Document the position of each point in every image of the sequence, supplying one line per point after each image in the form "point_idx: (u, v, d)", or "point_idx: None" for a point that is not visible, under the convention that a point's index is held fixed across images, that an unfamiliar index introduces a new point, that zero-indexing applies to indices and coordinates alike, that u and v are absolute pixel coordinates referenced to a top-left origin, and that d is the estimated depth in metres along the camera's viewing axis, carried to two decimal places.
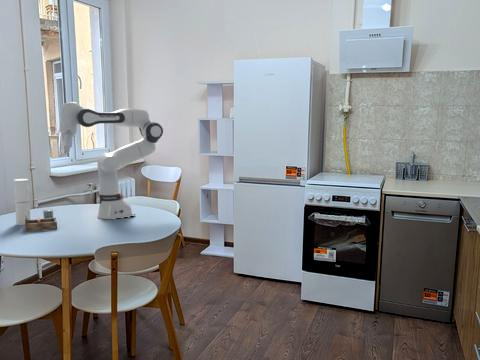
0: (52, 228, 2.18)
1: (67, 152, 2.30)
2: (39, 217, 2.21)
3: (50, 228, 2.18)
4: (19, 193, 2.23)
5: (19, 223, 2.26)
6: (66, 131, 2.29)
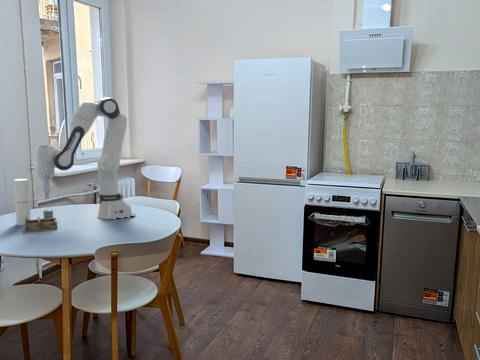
0: (52, 228, 2.18)
1: (46, 196, 2.28)
2: (39, 217, 2.21)
3: (50, 228, 2.18)
4: (19, 193, 2.23)
5: (19, 223, 2.26)
6: (44, 175, 2.27)
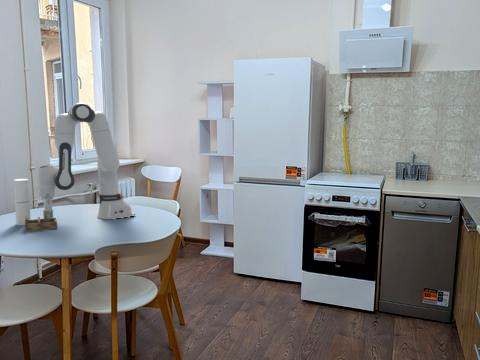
0: (52, 228, 2.18)
1: (48, 215, 2.31)
2: (39, 217, 2.21)
3: (50, 228, 2.18)
4: (19, 193, 2.23)
5: (19, 223, 2.26)
6: (45, 195, 2.29)
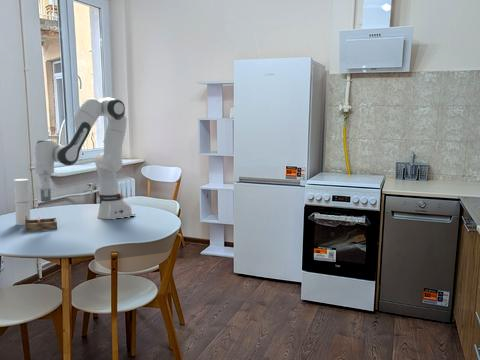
0: (52, 228, 2.18)
1: (46, 194, 2.15)
2: (39, 217, 2.21)
3: (50, 228, 2.18)
4: (19, 193, 2.23)
5: (19, 223, 2.26)
6: (42, 172, 2.13)
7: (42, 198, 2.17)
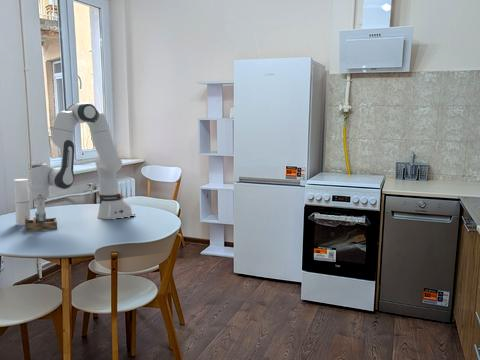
0: (52, 228, 2.18)
1: (41, 218, 2.16)
2: (35, 217, 2.20)
3: (50, 228, 2.18)
4: (19, 193, 2.23)
5: (19, 223, 2.26)
6: (37, 196, 2.13)
7: (37, 222, 2.17)
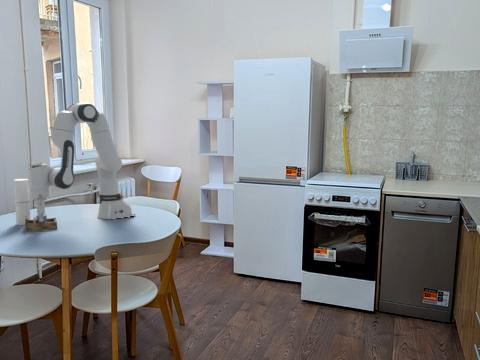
0: (52, 228, 2.18)
1: (41, 218, 2.14)
2: (35, 217, 2.20)
3: (50, 228, 2.18)
4: (19, 193, 2.23)
5: (19, 223, 2.26)
6: (37, 196, 2.13)
7: None
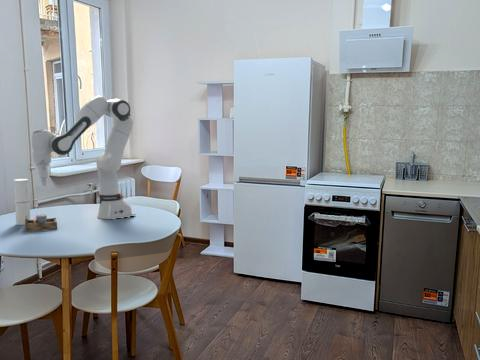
0: (52, 228, 2.18)
1: (44, 183, 2.19)
2: (35, 217, 2.20)
3: (50, 228, 2.18)
4: (19, 193, 2.23)
5: (19, 223, 2.26)
6: (40, 161, 2.18)
7: None
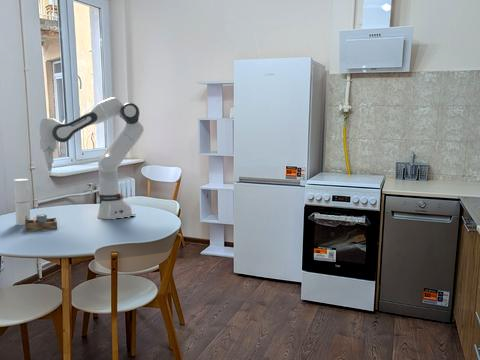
0: (52, 228, 2.18)
1: (50, 168, 2.34)
2: (35, 217, 2.20)
3: (50, 228, 2.18)
4: (19, 193, 2.23)
5: (19, 223, 2.26)
6: (46, 148, 2.33)
7: None
